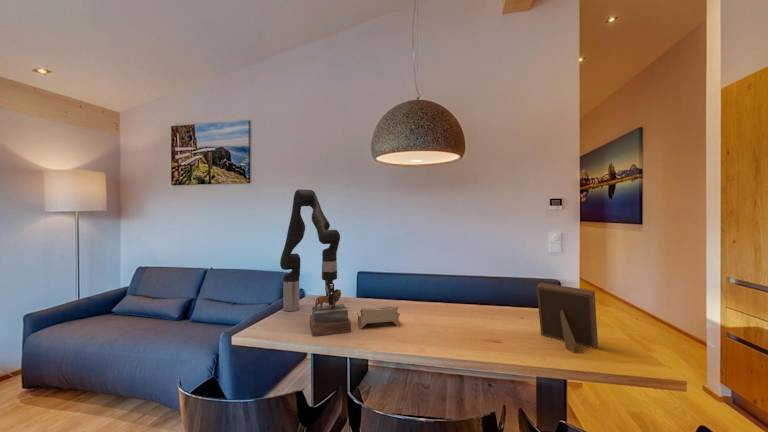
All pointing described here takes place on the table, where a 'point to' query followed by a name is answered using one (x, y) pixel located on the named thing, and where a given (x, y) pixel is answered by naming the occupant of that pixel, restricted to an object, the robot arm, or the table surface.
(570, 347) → the photo frame
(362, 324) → the toy sofa
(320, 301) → the lion figurine
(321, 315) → the wooden box
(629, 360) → the table surface
